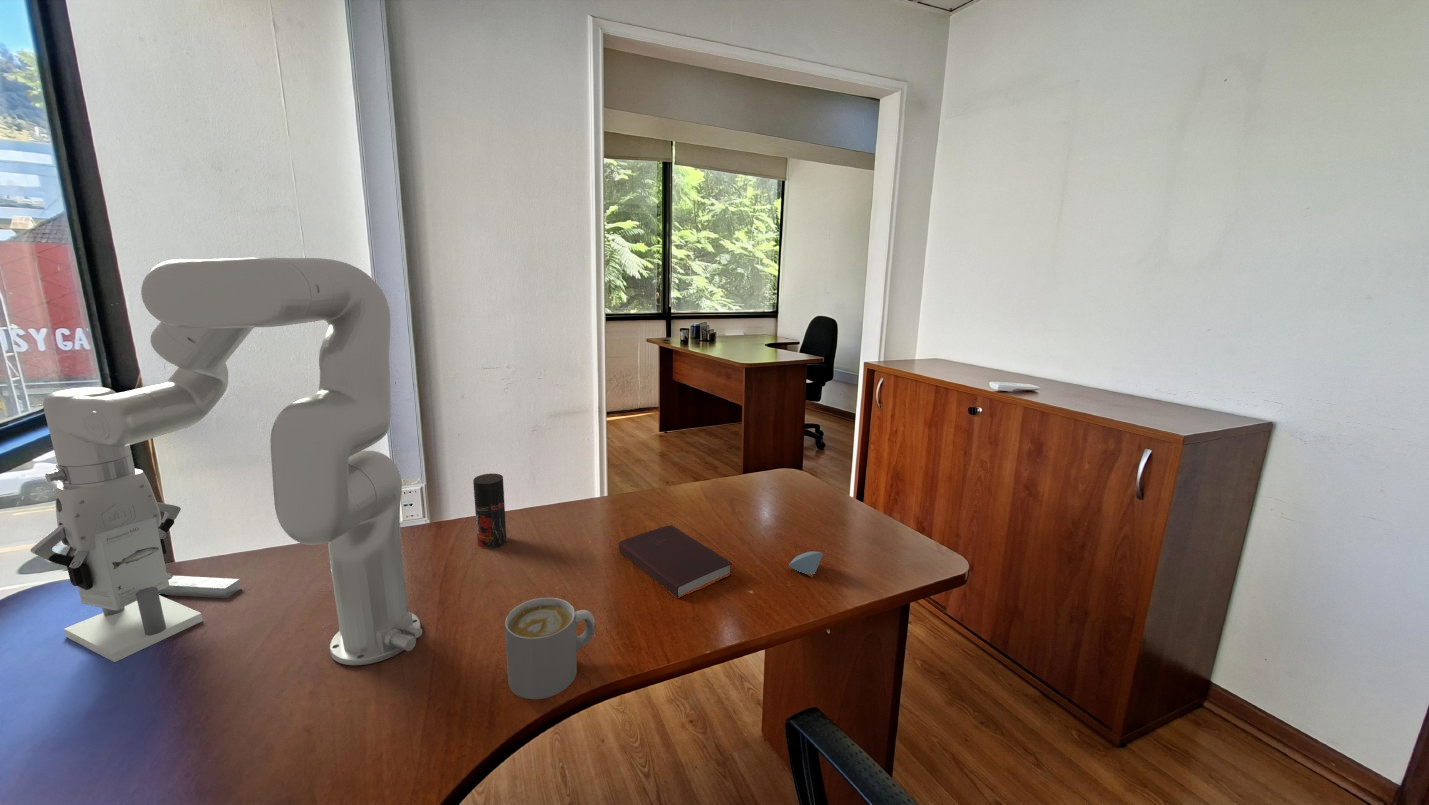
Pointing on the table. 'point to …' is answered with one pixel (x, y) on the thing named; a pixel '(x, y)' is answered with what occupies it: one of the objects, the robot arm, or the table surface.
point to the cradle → (133, 625)
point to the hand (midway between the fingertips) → (122, 572)
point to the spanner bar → (201, 586)
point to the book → (674, 559)
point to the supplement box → (124, 565)
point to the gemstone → (806, 562)
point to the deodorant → (490, 510)
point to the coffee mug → (544, 646)
